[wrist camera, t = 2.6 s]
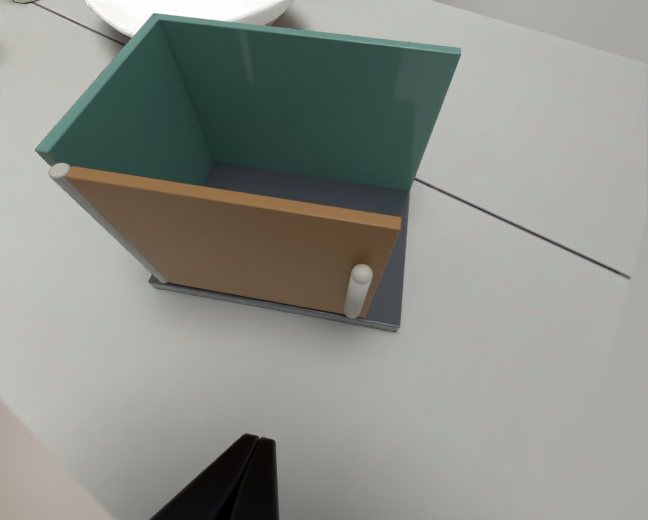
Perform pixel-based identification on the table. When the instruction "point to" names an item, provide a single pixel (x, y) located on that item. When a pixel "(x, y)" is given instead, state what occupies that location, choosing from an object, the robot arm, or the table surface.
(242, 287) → the brown hinged door
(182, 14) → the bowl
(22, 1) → the valve
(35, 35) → the table surface
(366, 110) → the shower stall
